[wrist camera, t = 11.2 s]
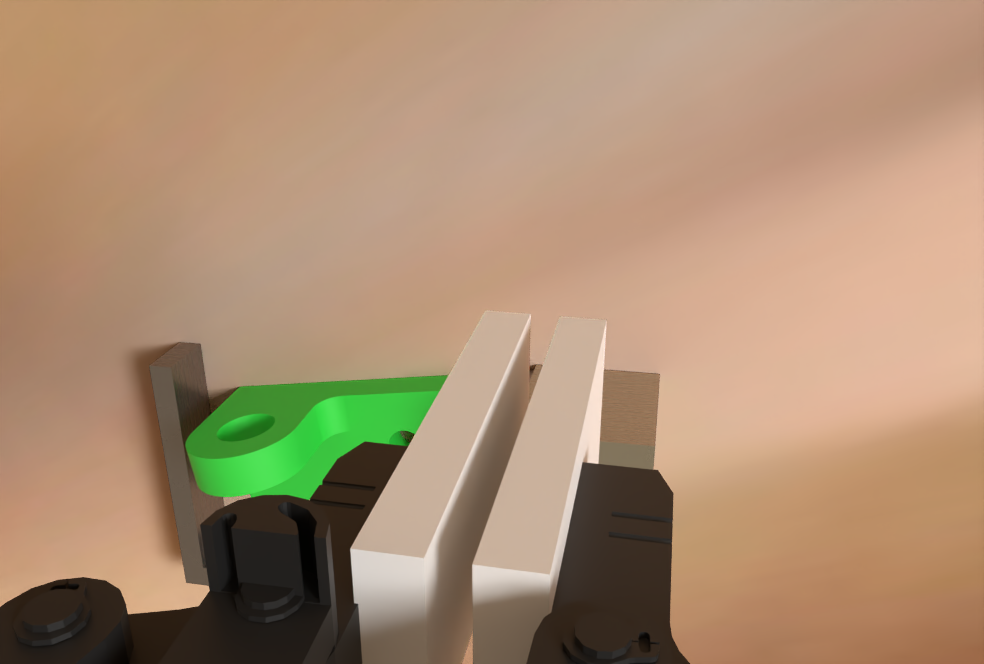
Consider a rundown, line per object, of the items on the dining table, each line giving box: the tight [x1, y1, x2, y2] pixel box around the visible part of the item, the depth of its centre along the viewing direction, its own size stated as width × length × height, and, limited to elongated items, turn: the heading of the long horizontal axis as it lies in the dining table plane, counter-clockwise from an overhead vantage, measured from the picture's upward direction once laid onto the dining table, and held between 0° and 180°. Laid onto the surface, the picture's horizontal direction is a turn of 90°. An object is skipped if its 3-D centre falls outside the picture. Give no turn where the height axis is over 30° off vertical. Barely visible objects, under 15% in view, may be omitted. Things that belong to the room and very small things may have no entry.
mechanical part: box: [185, 375, 448, 500], centre depth 44 cm, size 12×6×8 cm, turn 99°
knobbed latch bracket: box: [149, 342, 660, 586], centre depth 44 cm, size 14×25×8 cm, turn 90°
